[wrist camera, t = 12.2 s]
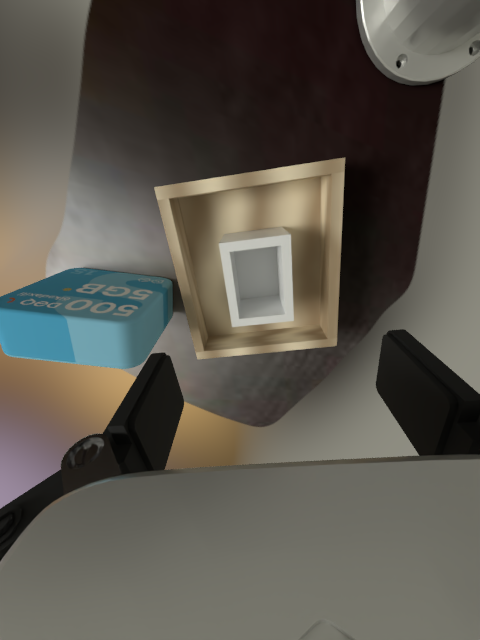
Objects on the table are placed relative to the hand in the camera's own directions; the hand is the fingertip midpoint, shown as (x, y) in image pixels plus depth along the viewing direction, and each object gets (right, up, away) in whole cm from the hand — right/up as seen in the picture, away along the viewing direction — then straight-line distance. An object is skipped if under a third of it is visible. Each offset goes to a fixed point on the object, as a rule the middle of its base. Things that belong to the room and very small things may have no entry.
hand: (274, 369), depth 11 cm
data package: (-15, +6, +19) cm, 26 cm away
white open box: (0, +8, +17) cm, 19 cm away
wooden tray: (0, +8, +18) cm, 20 cm away
